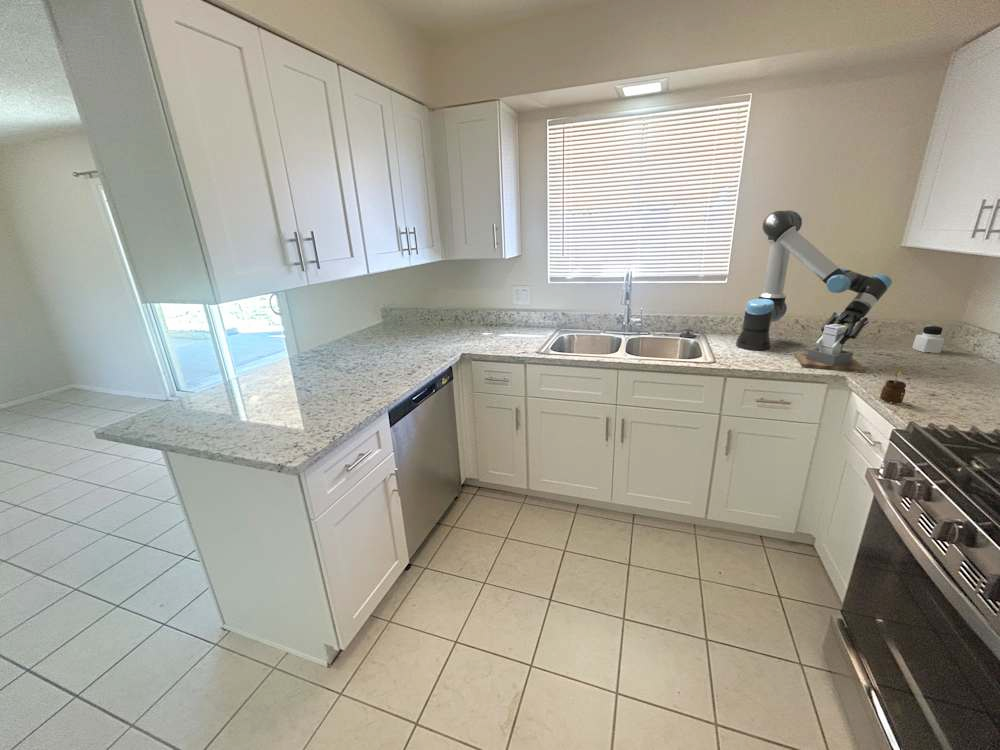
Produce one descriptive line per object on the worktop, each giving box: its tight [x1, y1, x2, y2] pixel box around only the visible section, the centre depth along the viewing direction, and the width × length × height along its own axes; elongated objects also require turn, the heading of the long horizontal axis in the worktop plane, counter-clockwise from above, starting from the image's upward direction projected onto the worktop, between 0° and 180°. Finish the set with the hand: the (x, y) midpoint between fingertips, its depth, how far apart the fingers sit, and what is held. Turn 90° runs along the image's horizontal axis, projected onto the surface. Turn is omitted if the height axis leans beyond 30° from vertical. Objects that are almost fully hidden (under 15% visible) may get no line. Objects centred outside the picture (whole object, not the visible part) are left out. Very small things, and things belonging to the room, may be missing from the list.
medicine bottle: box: [911, 325, 946, 354], centre depth 195 cm, size 7×7×12 cm
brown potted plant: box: [879, 365, 907, 404], centre depth 145 cm, size 6×6×12 cm
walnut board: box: [793, 352, 866, 373], centre depth 185 cm, size 22×17×2 cm
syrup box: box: [819, 324, 848, 355], centre depth 182 cm, size 6×6×14 cm
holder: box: [806, 346, 854, 366], centre depth 184 cm, size 12×12×4 cm
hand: (825, 346), depth 181 cm, fingers closed on syrup box, 6 cm apart
